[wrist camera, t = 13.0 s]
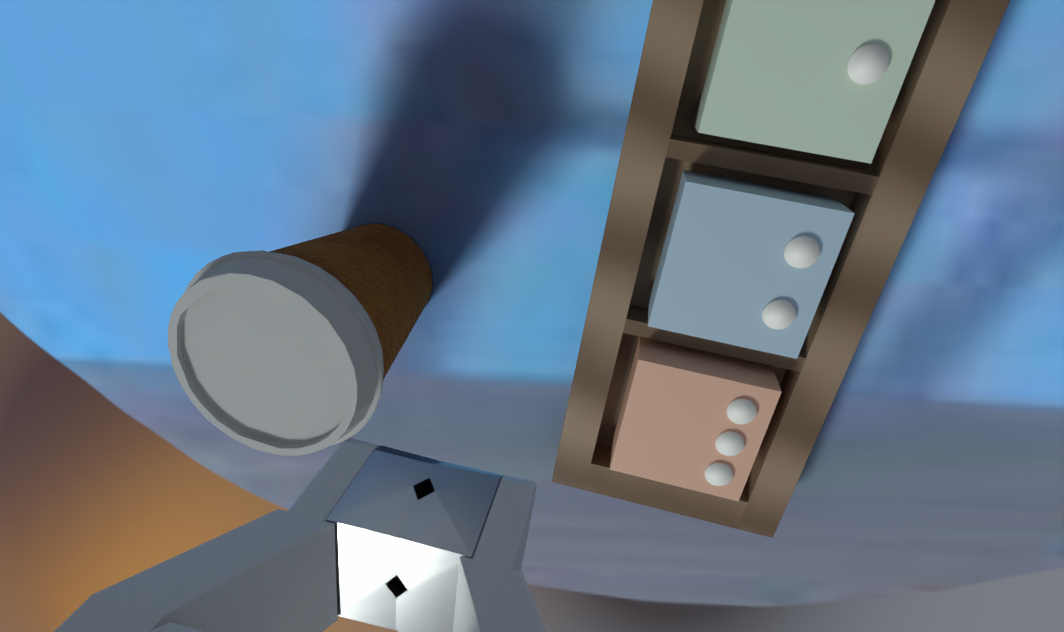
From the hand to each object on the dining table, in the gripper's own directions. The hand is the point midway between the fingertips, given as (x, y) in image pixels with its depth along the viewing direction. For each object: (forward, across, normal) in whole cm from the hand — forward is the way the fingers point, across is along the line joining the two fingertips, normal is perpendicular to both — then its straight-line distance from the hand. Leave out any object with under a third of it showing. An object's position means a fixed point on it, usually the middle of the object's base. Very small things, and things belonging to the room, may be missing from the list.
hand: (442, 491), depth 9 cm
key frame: (+24, -8, +2) cm, 25 cm away
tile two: (+22, -8, +2) cm, 24 cm away
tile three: (+22, -8, +11) cm, 26 cm away
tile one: (+23, -8, -7) cm, 25 cm away
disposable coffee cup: (+24, +11, +8) cm, 28 cm away
